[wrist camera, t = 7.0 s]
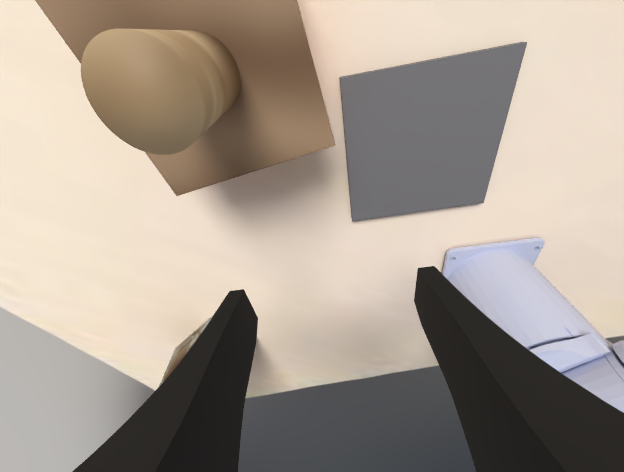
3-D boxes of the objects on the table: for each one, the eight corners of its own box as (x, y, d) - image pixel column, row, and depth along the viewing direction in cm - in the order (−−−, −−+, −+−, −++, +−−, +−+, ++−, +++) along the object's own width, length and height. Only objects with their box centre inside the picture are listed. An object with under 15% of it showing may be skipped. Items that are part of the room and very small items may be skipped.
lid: (333, 140, 13) (347, 195, 9) (182, 189, 15) (127, 257, 10) (259, -139, 8) (197, -361, 4) (38, -18, 10) (-200, -63, 5)
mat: (480, 200, 20) (483, 202, 20) (351, 218, 21) (352, 221, 21) (522, 42, 14) (527, 42, 14) (339, 77, 15) (340, 78, 15)
